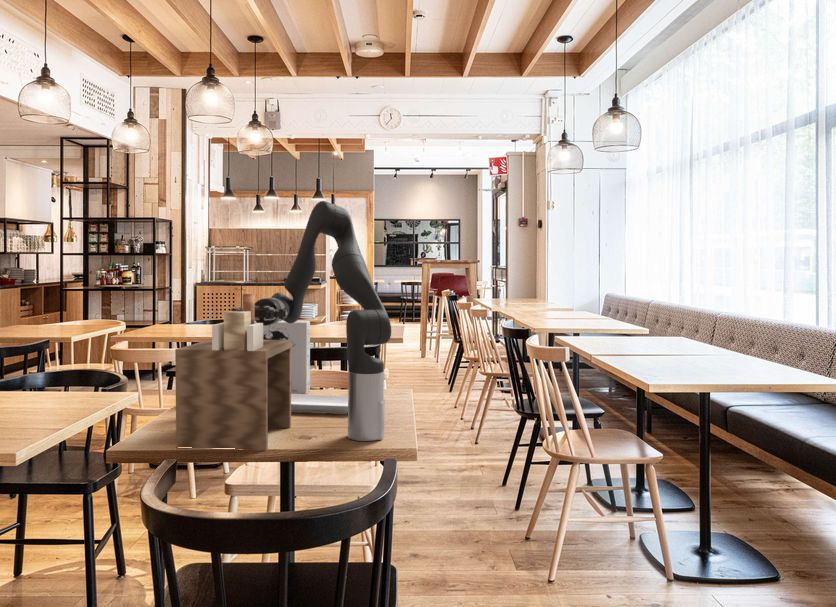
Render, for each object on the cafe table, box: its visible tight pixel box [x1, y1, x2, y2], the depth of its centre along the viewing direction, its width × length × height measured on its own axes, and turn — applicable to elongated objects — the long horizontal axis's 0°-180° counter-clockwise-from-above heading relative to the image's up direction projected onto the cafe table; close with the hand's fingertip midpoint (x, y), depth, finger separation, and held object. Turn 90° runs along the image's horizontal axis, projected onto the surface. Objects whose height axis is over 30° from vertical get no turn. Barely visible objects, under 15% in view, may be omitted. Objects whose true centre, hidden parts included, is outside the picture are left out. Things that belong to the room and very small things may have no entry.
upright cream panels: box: [211, 321, 263, 351], centre depth 159 cm, size 10×8×6 cm
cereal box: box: [255, 320, 311, 394], centre depth 229 cm, size 22×8×25 cm, turn 91°
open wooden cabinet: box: [174, 338, 292, 452], centre depth 168 cm, size 22×24×24 cm
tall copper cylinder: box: [223, 293, 256, 350], centre depth 162 cm, size 5×12×13 cm, turn 177°
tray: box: [291, 393, 348, 415], centre depth 203 cm, size 17×32×4 cm, turn 83°
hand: (251, 315), depth 169 cm, fingers open, 8 cm apart
